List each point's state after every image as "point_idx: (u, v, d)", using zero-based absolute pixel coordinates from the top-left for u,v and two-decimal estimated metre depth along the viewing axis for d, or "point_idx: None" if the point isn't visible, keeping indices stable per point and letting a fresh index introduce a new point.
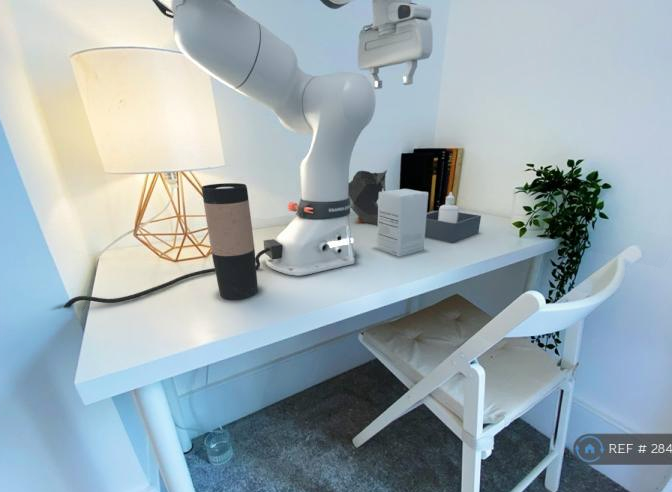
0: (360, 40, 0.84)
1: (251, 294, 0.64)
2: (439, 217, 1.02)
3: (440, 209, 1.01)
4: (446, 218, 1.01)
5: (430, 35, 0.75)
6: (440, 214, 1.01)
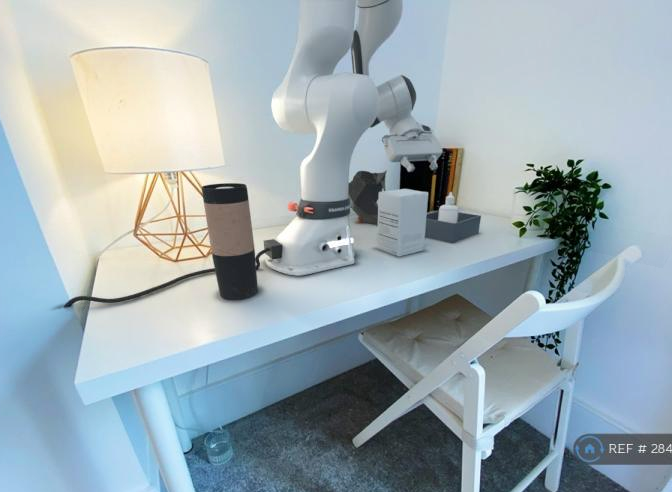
0: (391, 138, 1.04)
1: (251, 294, 0.64)
2: (439, 217, 1.02)
3: (440, 209, 1.01)
4: (446, 218, 1.01)
5: None
6: (440, 214, 1.01)
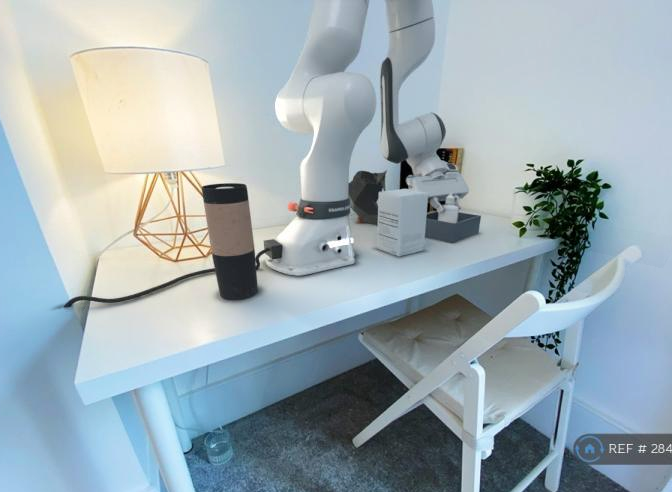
0: (416, 179, 0.98)
1: (251, 294, 0.64)
2: (439, 217, 1.02)
3: None
4: (446, 218, 1.01)
5: None
6: (440, 214, 1.01)
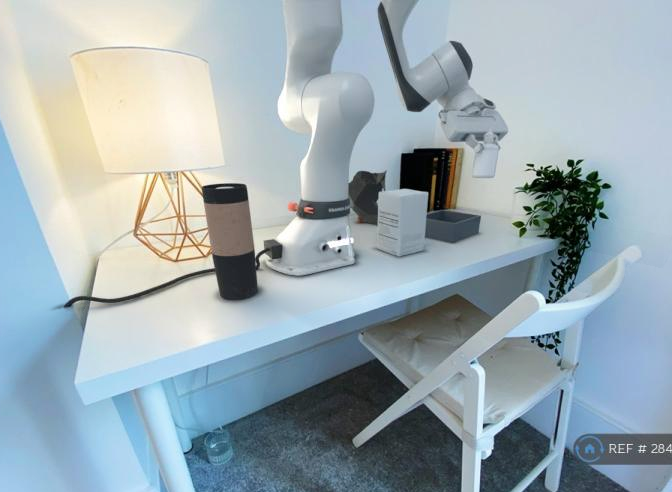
0: (450, 113, 0.86)
1: (251, 294, 0.64)
2: (475, 159, 0.89)
3: None
4: (484, 159, 0.88)
5: None
6: (477, 155, 0.88)
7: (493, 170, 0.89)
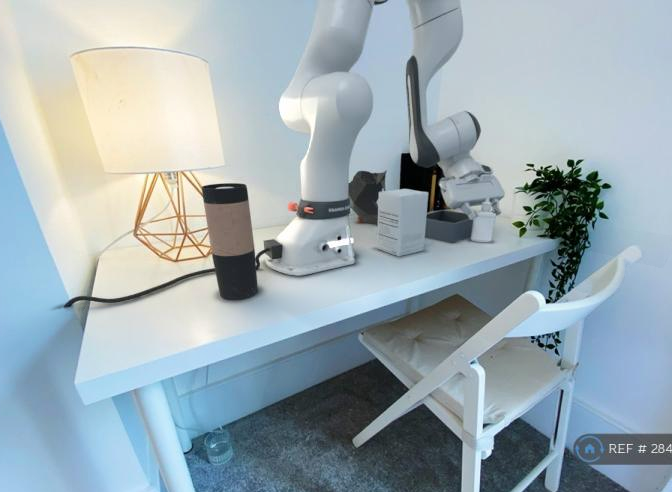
0: (450, 182, 0.91)
1: (251, 294, 0.64)
2: (474, 224, 0.94)
3: None
4: (482, 226, 0.93)
5: None
6: (475, 221, 0.94)
7: (490, 235, 0.94)
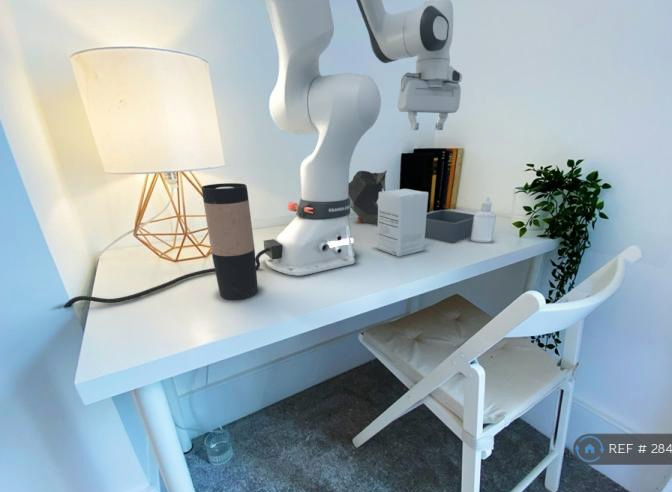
0: (411, 84, 0.89)
1: (251, 294, 0.64)
2: (474, 224, 0.94)
3: (475, 216, 0.94)
4: (482, 226, 0.93)
5: None
6: (475, 221, 0.94)
7: (490, 235, 0.94)
